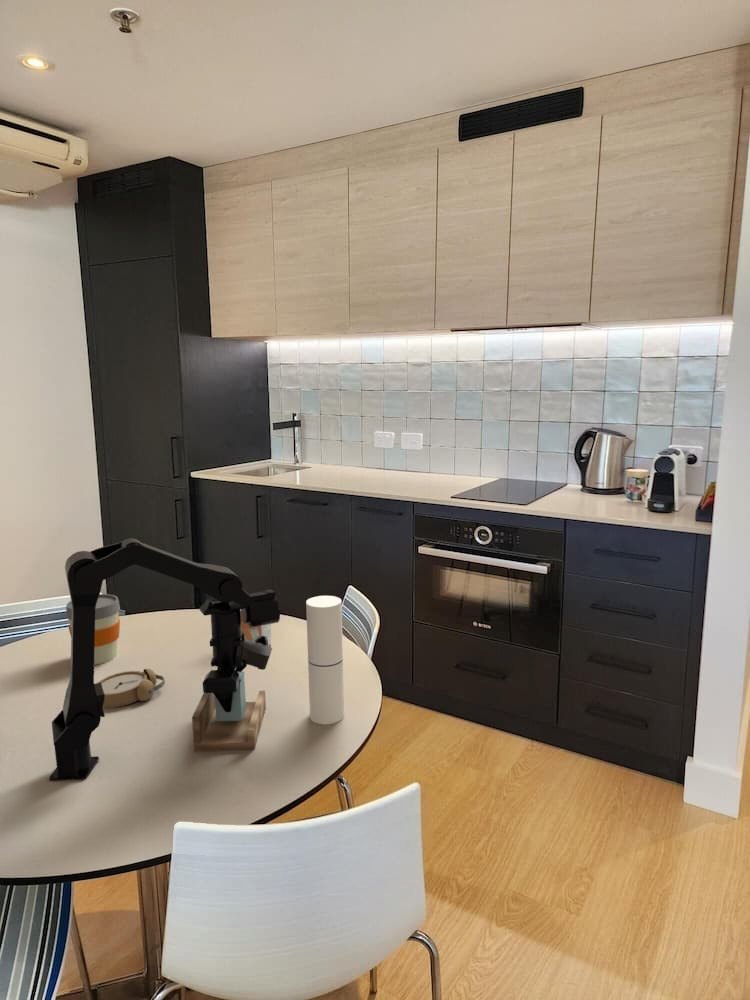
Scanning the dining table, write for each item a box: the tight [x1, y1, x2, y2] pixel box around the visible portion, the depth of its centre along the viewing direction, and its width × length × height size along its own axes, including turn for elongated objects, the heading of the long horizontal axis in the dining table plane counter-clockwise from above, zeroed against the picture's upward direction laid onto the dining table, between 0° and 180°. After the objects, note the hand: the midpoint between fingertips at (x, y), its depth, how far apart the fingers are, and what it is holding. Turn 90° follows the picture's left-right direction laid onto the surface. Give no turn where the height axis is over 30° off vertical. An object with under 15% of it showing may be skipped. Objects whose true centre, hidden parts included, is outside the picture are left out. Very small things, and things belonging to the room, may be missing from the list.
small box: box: [240, 609, 272, 646], centre depth 171 cm, size 8×6×10 cm
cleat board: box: [191, 690, 267, 752], centre depth 131 cm, size 16×11×7 cm
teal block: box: [215, 671, 247, 721], centre depth 130 cm, size 5×5×8 cm
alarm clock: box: [97, 668, 166, 708], centre depth 146 cm, size 11×5×15 cm
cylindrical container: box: [305, 595, 345, 725], centre depth 133 cm, size 7×7×25 cm
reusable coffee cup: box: [65, 593, 121, 666], centre depth 165 cm, size 13×13×15 cm
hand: (230, 705), depth 130 cm, fingers closed on teal block, 5 cm apart
